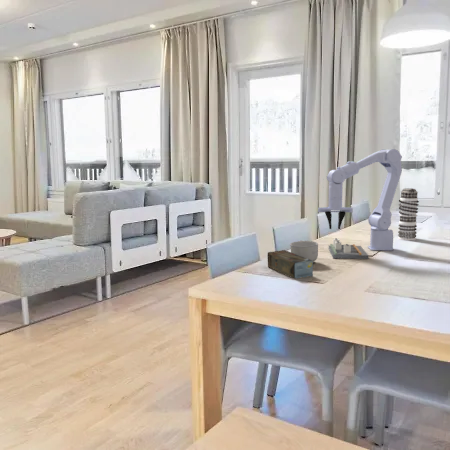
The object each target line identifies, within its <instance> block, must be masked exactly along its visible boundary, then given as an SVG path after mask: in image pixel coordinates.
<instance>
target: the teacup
mask: <svg viewBox="0 0 450 450" xmlns="http://www.w3.org/2000/svg"><path fill="white" fill-rule="evenodd" d="M289 246H290V252H291V253H294V254H297V255H299V256H302V257H305V258H307V259H310V260H312V261H313V263H314V262H315V261H317V259H318V258H319V257H318V256H319V242H317V241H314V240H297V241H293V242H291V243H290V244H289Z"/></svg>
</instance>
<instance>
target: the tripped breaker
mask: <svg viewBox="0 0 450 450" xmlns="http://www.w3.org/2000/svg"><path fill="white" fill-rule="evenodd" d="M343 245H344V253H351V246H350V245H351V244H350V243H344V244H343Z"/></svg>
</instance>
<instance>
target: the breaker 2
mask: <svg viewBox="0 0 450 450" xmlns="http://www.w3.org/2000/svg"><path fill="white" fill-rule="evenodd" d="M341 245H342V241H335V250H341Z"/></svg>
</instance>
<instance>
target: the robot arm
mask: <svg viewBox="0 0 450 450" xmlns="http://www.w3.org/2000/svg"><path fill="white" fill-rule="evenodd" d="M402 158H403V156H402V155H401V153H400V151H399V150H397V149H395V148H390V149H380V150H378V151H375V152H373V153H371V154H369V155H367V156H365V157H363V158H362V159H360V160H358V161H356V162H355V161H348V160H347V162H346V164H344V165H342V166H337V168H336V169H331V170H330V171H329V172H328V174H327V176H326V179H327V181H328V206H327V207H317V212H318V213H325V217H326V218H327V222H328V223H327V224H328V228H329V230H332V228H333V227H332V213H337V214H338V215H337V216H338V221H337V222H338V223H337V229H338V230H341V226H342V224H343V223H342V222H343V221H344V218H345V216H346V213H353V212H354V211H353V209H354V208H353V207H345V206H344V207H343V183H344V181H345V180H347V179H349V178H352V177H353V176H355V175H357V174H359V172H360V170H361V169H363V168H366V167H368V166H370V165H372V164H375V163H379V164H380V165H381V166H383V167H384V168H385V171H387V172H386V173H387V174H386V177H385V180H384V184H383V187H382V190H381V194H380V196H379V199H378V203H377V206H376V207H375V208H374V209H373V210H372V213H371V214H370V215H369V217H368V224H369V225H370V241H369V242H370V244H369V245H368V246H367V248H368V249H369V250H370V251H394V232H393V230H392V229H389V228H390V227H391V224H392V212H391V206H392V203H393V200H394V197H395V193H396V190H397V189H398V188H397V187H398V185H399V182H400V178H401V175H402V170H403V169H402Z"/></svg>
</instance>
